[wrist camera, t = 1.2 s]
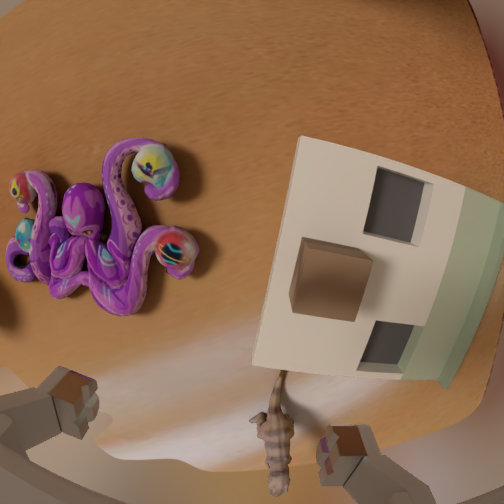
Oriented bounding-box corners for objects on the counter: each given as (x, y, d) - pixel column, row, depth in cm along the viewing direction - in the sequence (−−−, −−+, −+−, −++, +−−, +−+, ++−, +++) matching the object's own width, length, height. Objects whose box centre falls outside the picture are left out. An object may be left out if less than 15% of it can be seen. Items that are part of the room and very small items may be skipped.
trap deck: (298, 138, 30) (304, 132, 26) (493, 201, 30) (515, 206, 26) (252, 353, 36) (251, 375, 32) (434, 370, 37) (448, 388, 33)
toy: (268, 480, 37) (260, 506, 27) (239, 376, 43) (222, 378, 34) (316, 469, 36) (319, 494, 27) (286, 363, 43) (283, 363, 34)
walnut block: (301, 236, 30) (308, 248, 26) (358, 248, 30) (373, 260, 26) (288, 293, 32) (292, 312, 27) (343, 302, 32) (354, 322, 27)
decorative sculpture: (202, 316, 36) (210, 139, 30) (193, 338, 32) (200, 137, 25) (22, 283, 37) (11, 147, 31) (3, 296, 32) (-12, 150, 26)
